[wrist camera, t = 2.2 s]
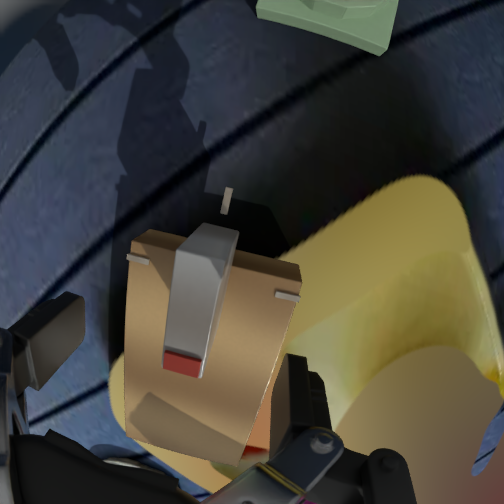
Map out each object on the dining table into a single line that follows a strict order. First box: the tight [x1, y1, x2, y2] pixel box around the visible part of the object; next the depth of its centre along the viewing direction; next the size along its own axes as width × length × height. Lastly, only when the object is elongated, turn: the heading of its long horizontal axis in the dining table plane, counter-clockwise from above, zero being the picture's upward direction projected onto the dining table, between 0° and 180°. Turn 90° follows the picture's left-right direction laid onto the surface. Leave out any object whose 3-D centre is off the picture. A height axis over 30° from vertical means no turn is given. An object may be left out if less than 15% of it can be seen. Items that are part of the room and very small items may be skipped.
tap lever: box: [161, 223, 239, 378], centre depth 15 cm, size 6×2×5 cm, turn 167°
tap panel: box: [124, 187, 302, 466], centre depth 21 cm, size 22×10×3 cm, turn 167°
